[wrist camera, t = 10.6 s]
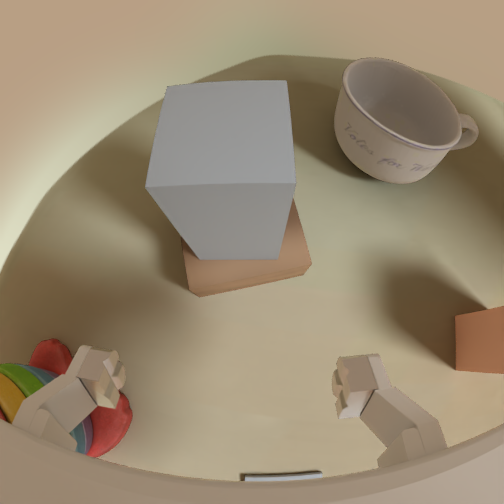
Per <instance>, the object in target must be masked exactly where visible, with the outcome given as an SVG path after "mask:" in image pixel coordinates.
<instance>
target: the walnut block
mask: <svg viewBox="0 0 504 504" xmlns="http://www.w3.org/2000/svg"><path fill="white" fill-rule="evenodd" d="M181 242H182V248H183V255H184V261H185V268H186V274H187V280H188V285H189V290H190V291H191V292H193V293H194V294H196V295H197V296H198V297H203V296H208V295H213V294H218V293H223V292H228V291H233V290H237V289H242V288H247V287H252V286H256V285H261V284H265V283H270V282H274V281H279V280H283V279H288V278H292V277H297V276H301V275H303V274H304V273H305V272H306V271H307V269H308V268H309V267H310V266H311V264H312V262H311V258H310V255H309V251H308V247H307V244H306V240H305V237H304V233H303V230H302V226H301V223H300V219H299V216H298V212H297V209H296V206H295V202H294V199H292V204H291V208H290V212H289V216H288V220H287V224H286V229H285V233H284V237H283V241H282V245H281V249H280V253H279V257H278V260H200V259H199V258H198V257H197V256H196V254H195V253H194V252H193V250H192V249H191V248H190V247H189V245H188V244H187V243H186V241H185V240H184V239H183V238H182V236H181Z"/></svg>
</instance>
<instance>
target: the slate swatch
mask: <svg viewBox="0 0 504 504" xmlns="http://www.w3.org/2000/svg"><path fill="white" fill-rule="evenodd" d="M314 478H322V472H313V473H302V474H287V475H245V481H288V480H303V479H314Z"/></svg>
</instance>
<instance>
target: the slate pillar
mask: <svg viewBox="0 0 504 504" xmlns="http://www.w3.org/2000/svg"><path fill="white" fill-rule="evenodd" d="M295 187H296V173H295V160H294V148H293V136H292V125H291V115H290V105H289V95H288V86H287V81H284V80H241V81H218V82H204V83H193V84H183V85H174V86H167V89H166V93H165V97H164V100H163V104H162V108H161V112H160V116H159V120H158V125H157V129H156V134H155V138H154V143H153V147H152V152H151V157H150V162H149V168H148V173H147V179H146V185H145V188H146V190H147V191H148V192H149V194H150V195H151V196H152V198H153V199H154V200H155V202H156V203H157V204H158V206H159V207H160V208H161V210H162V211H163V212H164V214H165V215H166V216H167V218H168V219H169V220H170V222H171V223H172V224H173V226H174V227H175V228H176V230H177V231H178V232H179V234H180V235H181V236H182V238H183V239H184V240H185V241H186V243H187V244H188V245H189V247H190V248H191V249H192V250H193V252H194V253H195V254H196V256H197V257H198V258H199V259H200V260H278V257H279V253H280V249H281V245H282V241H283V237H284V233H285V229H286V224H287V220H288V216H289V212H290V208H291V204H292V199H293V195H294V191H295Z"/></svg>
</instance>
